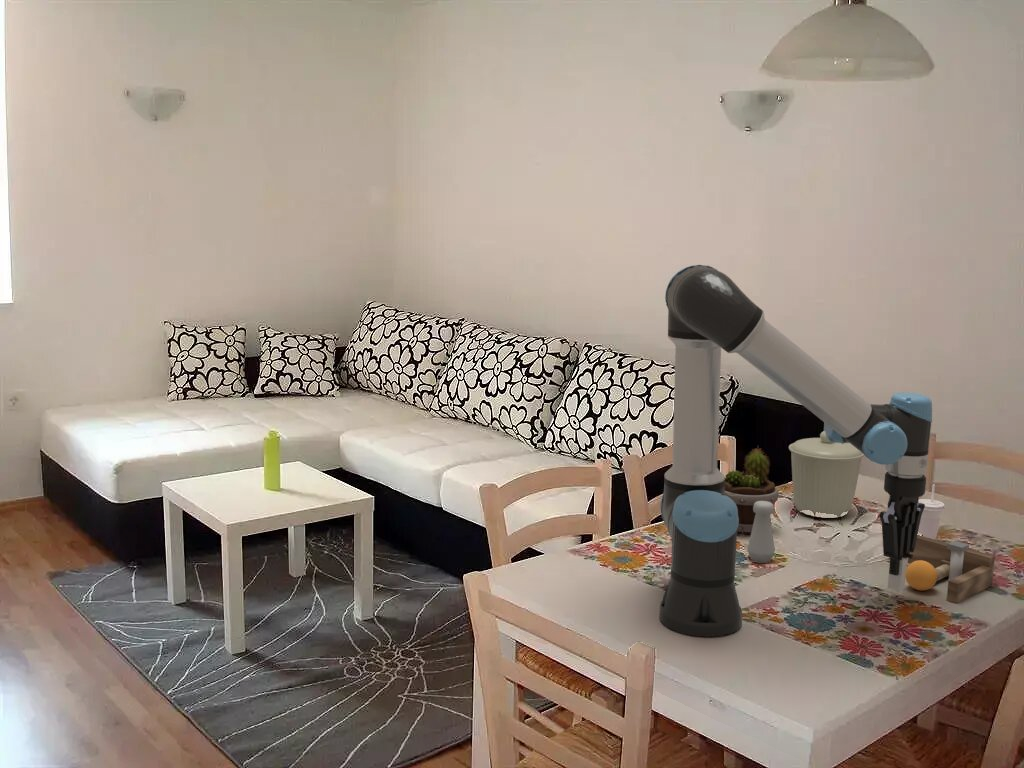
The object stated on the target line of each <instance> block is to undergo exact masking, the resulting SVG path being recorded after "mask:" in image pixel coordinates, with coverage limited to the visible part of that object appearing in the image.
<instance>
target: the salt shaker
mask: <svg viewBox="0 0 1024 768" xmlns="http://www.w3.org/2000/svg"><path fill="white" fill-rule="evenodd" d="M774 509H775V507H774V503H773V504H772V503H771V502H768V501H757V502H755V503H754V506H753V511H754V512H755V513H756V515H755V519H754V523H753V527H752V532H751V536H749V540H748V545H747V553H748V556H749V559H750V560H751V561H752V562H755V563H757V564H758V563H759V564H767V563H770V562H771V560H772V558H773V557H774V555H775V551H776V548H775V547H776V546H775V540H774V534H773V528H772V518H771V515H773V514H774V511H775V510H774Z"/></svg>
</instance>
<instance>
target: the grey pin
mask: <svg viewBox="0 0 1024 768" xmlns="http://www.w3.org/2000/svg"><path fill="white" fill-rule="evenodd" d="M947 543H948V545H947V549H951V559H950V570H949V577H948V580H947V581H949V580H952V579H954V578H956V577H958V576H960V575H962V568H963V558H964V551H966V550H968V549H970V544H968V543H966V542H965V543H964V542H961V541H957V540H952V541H950V542H947Z"/></svg>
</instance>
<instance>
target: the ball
mask: <svg viewBox="0 0 1024 768" xmlns="http://www.w3.org/2000/svg"><path fill="white" fill-rule="evenodd" d="M936 580H937V573H936V570H935V568H934V567H933V566H932V565H931V564H930V563H928V562H926V561H922V560H918V561H914V562H912V563H908V566H906V575H905V582H906V583H907V584H908V585H909V586H910V587H911V588H912V589H914V590H917V591H920V592H921V591H927V590H930V589H932V588H933V587H934V585H936V583H937V581H936Z"/></svg>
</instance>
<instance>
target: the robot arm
mask: <svg viewBox="0 0 1024 768" xmlns="http://www.w3.org/2000/svg"><path fill="white" fill-rule="evenodd" d="M664 299H665V303H666V304H665V305H666V307H667V312H668V313H667V338H668V339H669V340H670V341H671V342H672V343H673V344H674V346H675V347H674V348H675V350H674V351H675V355H674V358H675V359H674V388H673V389H674V394H673V397H674V398H673V431H672V432H673V435H672V438H673V439H672V465H671V467H670V468H669V469H668V470H667V471H666V472H664V484H663V485H664V486H663V493H662V496H661V499H660V500H661V501H660V514H661V519H662V521H663V523H664V524H665V526H666V528H667V531H668V534H669V536H670V539H671V557H670V558H671V559H670V579H669V582H668V584H667V586H666V589H665V592H664V594H663V595H662V596H663V597H662V599H661V601H660V605H659V617H658V618H659V620H660V621H659V622H661V623H662V624H663V625H664V626H665V627H667V628H668V629H670V630H672V631H675V632H677V633H680V632H681V634H684V635H688V634H689V636H693V637H694V636H695V637H703V636H706V637H707V638H708V636H709V637H710V638H711V636H714V637H722V636H721V635H723V636H727V634H728V635H730V633H731V634H734V633H736V632H738V631H739V630H740V629H741V627H742V625H743V611H742V608H741V606H740V602H739V601H740V600H739V597H738V592H737V589H736V585H735V575H736V574H735V573H736V559H737V557H736V556H737V541H738V535H737V528H738V524H739V517H738V509H737V506H736V504H735V502H734V501H733V500H732V499H731V498H729V497H728V496H725V495H724V489H725V478H726V475H725V474H724V473H722V472H721V470H720V469H719V468H718V457H719V456H718V452H719V451H718V450H719V425H720V424H719V423H720V422H719V421H720V394H721V391H720V390H721V388H720V387H721V367H722V365H721V364H722V363H721V359H722V349H723V350H724V351H725V352H726V353H728V354H735V353H736V354H738V355H739V356H740V357H742V358H743V359H744V360H745V361H746V362H748V363H749V364H751V366H752V367H754V368H756V369H757V370H758V371H760V372H761V373H762V374H763V375H764V376H765V377H767V378H768V379H769V380H770V381H772V382H773V383H774V384H776V385H777V386H778V387H779V388H780V389H782V390H783V391H785V392H786V393H787V394H788V395H789V396H791V397H792V398H793V399H794V400H796V401H797V402H798V403H799V404H801V405H802V406H803V407H804V408H806V409H807V410H808V411H810V412H811V413H812V414H813V415H814V416H815V417H817V418H818V419H819V420H821V421H822V422H823V423H824V431H825V433H826V436H827V438H828V440H829V441H831V442H836V443H842V444H844V443H851V444H852V445H853V446H854V447H856V448H857V449H858V450H859V451H861V452H862V453H863V454H864V457H866V458H867V459H868V460H870V461H871V462H874V463H876V464H879V465H882V466H883V465H885V470H886V472H885V473H884V481H883V482H884V483H883V490H884V492H886V493H887V494H888V495H889V498H888V499H889V500H888V502H887V510H886V511H885V512H884V511H881V512H880V513H879V519H880V523H881V534H882V552H883V556H884V557H887V558H889V564H888V565H889V567H888V578H887V579H888V580H887V589H890V590H892V591H893V590H894V591H897V592H900V593H902V592H903V591H905V586H906V578H905V575H906V569H907V563H908V558H910V559H911V558H912V557H913V555H911V554H910V552H914V549H915V544H916V539H917V534H918V530H919V525H920V520H921V515H922V513H923V510H924V508H925V504H922V503H919V502H918V500H919V498H920V497H922V496H924V495H925V494H926V485H927V477H926V476H925V475H926V474H927V471H928V466H929V464H930V462H929V460H928V458H929V448H930V438H931V431H932V430H931V429H932V422H933V401H932V400H931V398H930V397H929V396H926V394H925V395H924V394H921V393H916V392H915V393H914V392H901V393H900V392H896V393H894V394H892V395H891V397H890V401H889V403H884V404H875V403H874V404H871V403H869V402H867V401H866V400H865V399H864V398H862V397H861V396H860V395H858V393H856V392H855V391H854V390H853V389H851V387H849V386H847V384H845V383H844V382H843V381H841V379H839V378H838V377H836V376H835V374H833V373H832V372H830V370H828V369H827V368H825V367H824V366H823V365H821V364H820V363H819V362H818V361H816V360H815V359H814V358H813V357H812V356H811V355H809V354H808V353H807V352H806V351H804V350H803V349H802V348H800V346H798V345H797V344H795V342H793V341H792V340H791V339H789V338H788V337H787V336H786V335H784V334H783V333H782V332H781V331H780V330H778V329H777V328H776V327H774V326H773V325H772V324H771V323H770V322H768V321H767V320H766V318H765V311H764V310H763V309H761V308H760V307H759V306H758V305H757V304H756V303H754V302H753V301H752V300H751V299H750V298H749V297H748V296H747V295H746V294H745V293H744V292H743V291H742V290H741V289H740V287H738V285H737V284H736V283H735V282H734V281H733V280H732V279H731V278H730V276H728V275H727V274H725V273H724V272H722V271H719V270H718V269H716V268H715V267H712V266H711V265H703V264H696V265H695V264H693V265H689V266H686V267H683V268H682V269H680V270H678V271H677V272H676V273H675V274H674V275H673V276H672V277H671V278H670V280H669V282H668V285H667V286H666V289H665V296H664ZM918 497H919V498H918ZM738 629H739V630H738ZM735 631H736V632H735ZM733 632H734V633H733ZM706 637H705V638H706Z"/></svg>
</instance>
